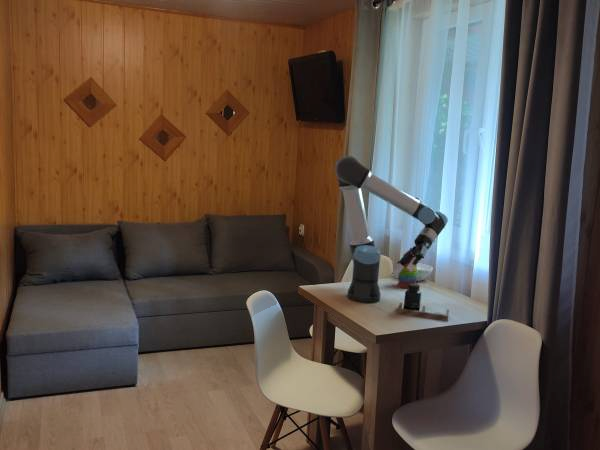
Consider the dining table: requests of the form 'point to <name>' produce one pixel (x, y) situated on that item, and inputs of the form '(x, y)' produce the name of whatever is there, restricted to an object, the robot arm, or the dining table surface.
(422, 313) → the notch rail
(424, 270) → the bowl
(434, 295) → the dining table surface
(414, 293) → the supplement bottle
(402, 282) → the stacking bear
